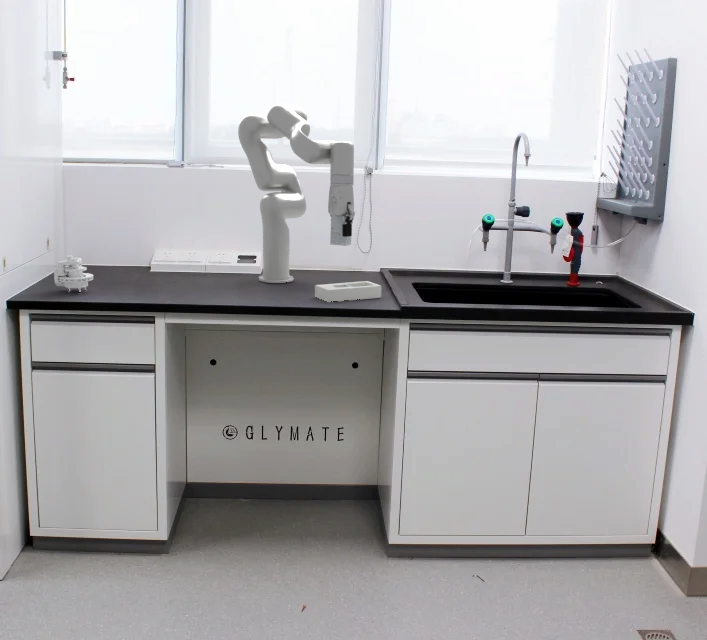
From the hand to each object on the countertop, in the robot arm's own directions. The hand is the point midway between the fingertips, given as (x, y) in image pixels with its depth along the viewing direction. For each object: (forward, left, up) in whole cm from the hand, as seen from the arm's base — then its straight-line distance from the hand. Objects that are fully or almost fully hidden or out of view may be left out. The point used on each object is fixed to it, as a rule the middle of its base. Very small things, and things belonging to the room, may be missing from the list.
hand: (341, 234), depth 260 cm
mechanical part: (-38, -78, -20) cm, 89 cm away
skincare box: (0, 0, -4) cm, 4 cm away
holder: (+4, +1, -20) cm, 21 cm away
